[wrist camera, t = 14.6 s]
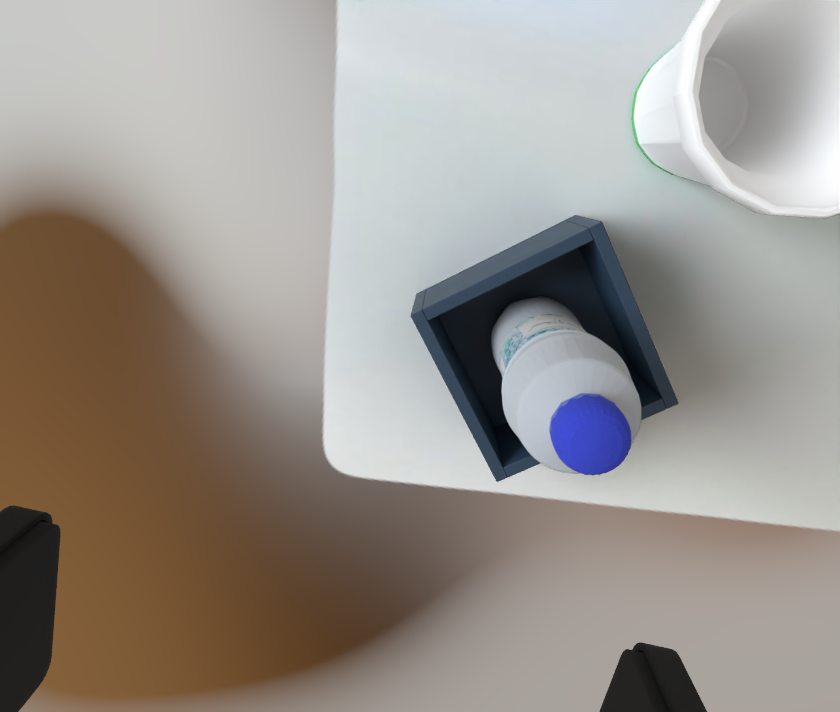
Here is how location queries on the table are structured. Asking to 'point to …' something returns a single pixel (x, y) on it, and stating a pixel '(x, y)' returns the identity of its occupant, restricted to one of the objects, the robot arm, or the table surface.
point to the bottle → (564, 389)
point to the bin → (520, 279)
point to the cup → (751, 105)
